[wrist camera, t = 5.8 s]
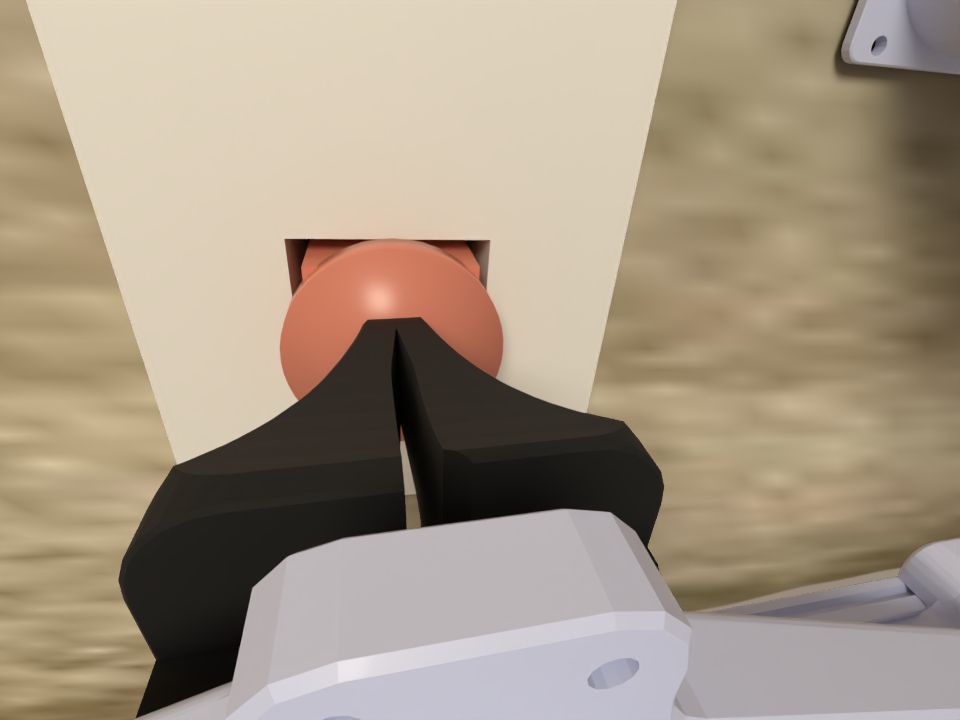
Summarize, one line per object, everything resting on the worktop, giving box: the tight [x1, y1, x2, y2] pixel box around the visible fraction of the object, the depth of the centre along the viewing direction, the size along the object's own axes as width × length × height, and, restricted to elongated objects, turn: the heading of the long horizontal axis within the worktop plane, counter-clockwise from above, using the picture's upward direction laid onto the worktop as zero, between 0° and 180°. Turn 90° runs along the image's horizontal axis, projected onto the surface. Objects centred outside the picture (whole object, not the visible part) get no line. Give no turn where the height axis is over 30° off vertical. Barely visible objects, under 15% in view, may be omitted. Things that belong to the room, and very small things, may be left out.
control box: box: [26, 0, 677, 495], centre depth 11 cm, size 12×24×4 cm, turn 176°
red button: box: [280, 238, 503, 441], centre depth 13 cm, size 5×5×5 cm
